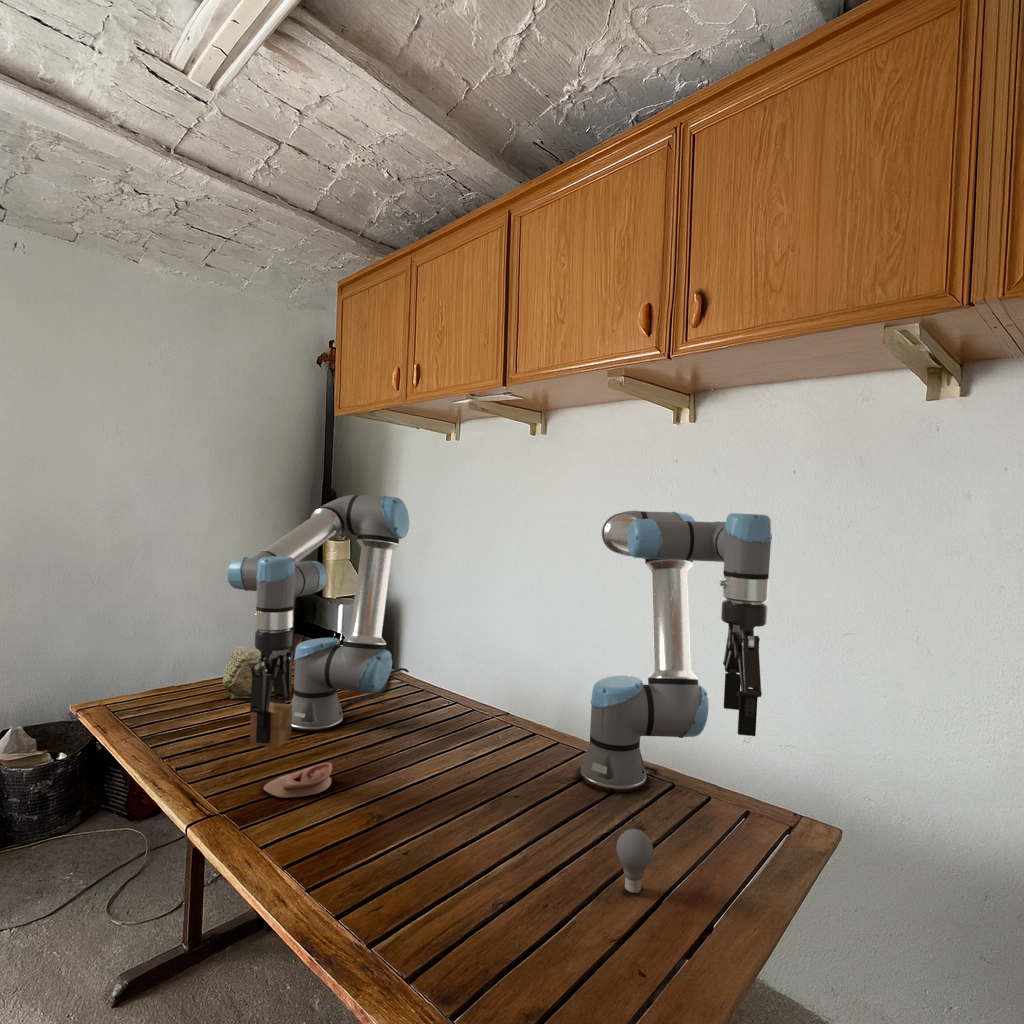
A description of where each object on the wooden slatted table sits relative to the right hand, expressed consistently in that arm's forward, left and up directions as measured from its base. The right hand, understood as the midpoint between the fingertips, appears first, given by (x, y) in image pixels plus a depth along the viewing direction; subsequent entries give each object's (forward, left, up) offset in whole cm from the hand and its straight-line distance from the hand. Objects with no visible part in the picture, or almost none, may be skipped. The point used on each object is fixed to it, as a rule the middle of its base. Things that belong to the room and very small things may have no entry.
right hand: (738, 721), depth 112 cm
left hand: (+72, -61, -16) cm, 96 cm away
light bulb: (+20, -2, -27) cm, 34 cm away
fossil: (+71, -129, -27) cm, 150 cm away
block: (+72, -61, -17) cm, 96 cm away
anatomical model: (+66, -60, -27) cm, 93 cm away
